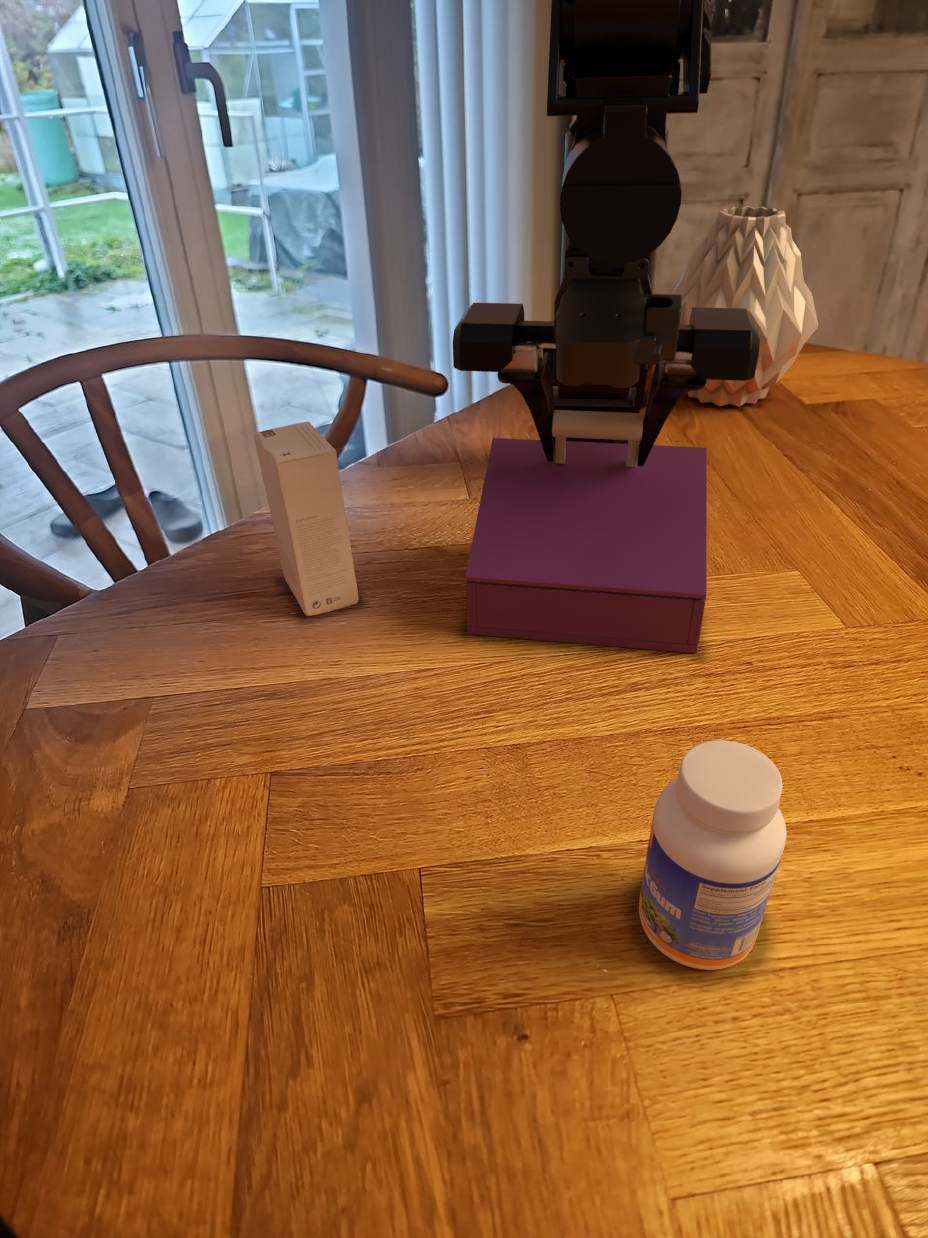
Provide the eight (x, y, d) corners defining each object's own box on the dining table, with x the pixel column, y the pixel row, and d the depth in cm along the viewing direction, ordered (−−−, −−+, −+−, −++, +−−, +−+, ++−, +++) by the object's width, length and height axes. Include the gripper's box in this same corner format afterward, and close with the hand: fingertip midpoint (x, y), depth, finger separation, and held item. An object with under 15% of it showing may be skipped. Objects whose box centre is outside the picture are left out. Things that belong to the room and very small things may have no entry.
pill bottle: (625, 878, 41) (644, 731, 36) (733, 869, 42) (769, 721, 36) (655, 981, 37) (682, 831, 31) (776, 969, 37) (824, 818, 32)
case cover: (493, 442, 63) (488, 390, 59) (705, 452, 61) (716, 399, 57) (465, 581, 56) (458, 533, 52) (705, 599, 53) (717, 550, 49)
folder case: (494, 544, 68) (493, 497, 66) (690, 557, 66) (697, 509, 63) (467, 634, 58) (465, 583, 56) (696, 654, 56) (705, 601, 53)
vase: (632, 374, 100) (647, 201, 89) (766, 365, 101) (797, 194, 90) (675, 427, 87) (699, 232, 76) (829, 416, 88) (873, 222, 77)
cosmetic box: (361, 603, 62) (343, 448, 55) (302, 620, 60) (275, 463, 53) (334, 565, 66) (314, 417, 59) (278, 579, 65) (251, 430, 58)
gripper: (428, 252, 45) (441, 509, 55) (793, 257, 42) (741, 528, 52) (465, 209, 54) (471, 437, 63) (769, 210, 51) (729, 449, 60)
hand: (594, 461), depth 59 cm, fingers closed on case cover, 6 cm apart
